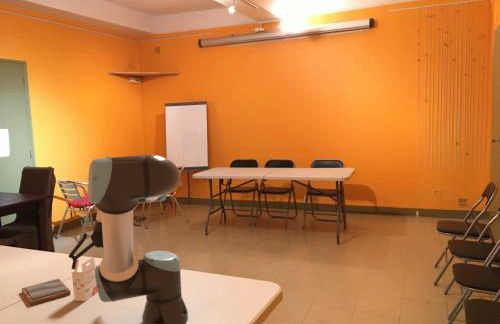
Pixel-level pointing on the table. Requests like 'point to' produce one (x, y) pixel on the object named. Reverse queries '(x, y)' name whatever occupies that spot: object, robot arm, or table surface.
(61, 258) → the table surface
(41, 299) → the walnut stand
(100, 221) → the robot arm
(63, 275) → the table surface
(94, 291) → the ink cartridge box
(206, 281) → the table surface
